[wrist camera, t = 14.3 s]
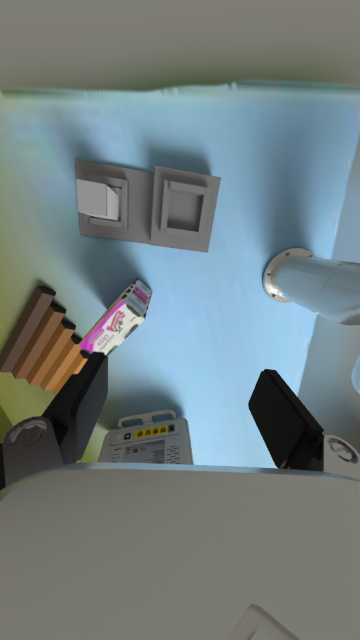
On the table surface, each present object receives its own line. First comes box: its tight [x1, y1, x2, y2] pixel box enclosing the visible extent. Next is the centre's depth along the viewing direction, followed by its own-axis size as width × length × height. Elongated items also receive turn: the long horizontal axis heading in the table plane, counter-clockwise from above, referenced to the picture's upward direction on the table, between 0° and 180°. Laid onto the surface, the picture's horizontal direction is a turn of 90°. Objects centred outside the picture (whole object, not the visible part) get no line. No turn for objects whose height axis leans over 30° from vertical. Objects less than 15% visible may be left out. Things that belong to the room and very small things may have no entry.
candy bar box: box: [78, 278, 152, 356], centre depth 36 cm, size 11×5×16 cm, turn 134°
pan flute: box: [0, 286, 91, 395], centre depth 47 cm, size 25×3×25 cm
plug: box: [76, 179, 120, 221], centre depth 31 cm, size 4×4×9 cm
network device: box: [98, 410, 194, 465], centre depth 51 cm, size 26×9×20 cm, turn 98°
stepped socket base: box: [75, 159, 221, 253], centre depth 33 cm, size 25×12×7 cm, turn 83°
